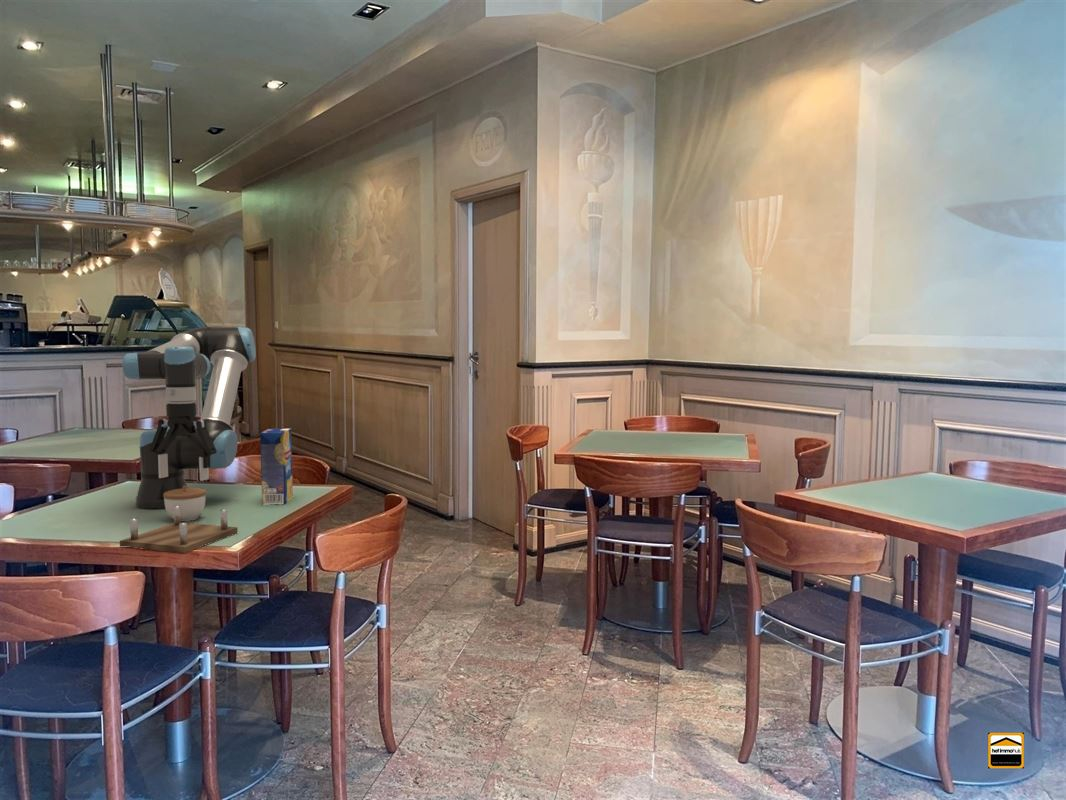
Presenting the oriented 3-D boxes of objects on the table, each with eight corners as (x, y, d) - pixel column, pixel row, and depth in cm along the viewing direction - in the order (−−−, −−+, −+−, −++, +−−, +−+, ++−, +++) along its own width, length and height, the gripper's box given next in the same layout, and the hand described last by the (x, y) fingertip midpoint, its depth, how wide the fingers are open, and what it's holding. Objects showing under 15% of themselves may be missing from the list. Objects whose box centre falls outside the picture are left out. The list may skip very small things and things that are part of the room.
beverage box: (292, 497, 239) (291, 428, 237) (285, 504, 228) (283, 432, 226) (270, 497, 238) (268, 428, 236) (262, 505, 227) (260, 433, 225)
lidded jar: (176, 514, 215) (175, 482, 215) (213, 514, 215) (212, 482, 214) (156, 523, 205) (155, 489, 204) (195, 524, 204) (194, 490, 204)
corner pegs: (129, 539, 183) (128, 519, 183) (177, 523, 199) (176, 505, 198) (184, 544, 179) (183, 524, 178) (229, 528, 194) (228, 509, 194)
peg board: (119, 546, 182) (119, 540, 182) (176, 527, 200) (176, 522, 200) (185, 553, 177) (184, 547, 177) (237, 532, 195) (237, 527, 195)
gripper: (133, 402, 207) (136, 478, 208) (210, 404, 200) (212, 483, 201) (154, 400, 214) (156, 474, 216) (228, 402, 207) (230, 478, 209)
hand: (183, 478), depth 209 cm, fingers open, 13 cm apart
